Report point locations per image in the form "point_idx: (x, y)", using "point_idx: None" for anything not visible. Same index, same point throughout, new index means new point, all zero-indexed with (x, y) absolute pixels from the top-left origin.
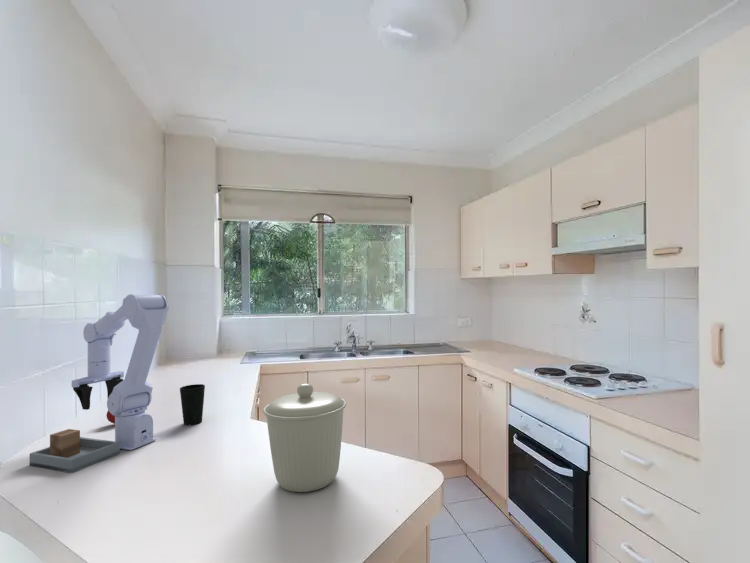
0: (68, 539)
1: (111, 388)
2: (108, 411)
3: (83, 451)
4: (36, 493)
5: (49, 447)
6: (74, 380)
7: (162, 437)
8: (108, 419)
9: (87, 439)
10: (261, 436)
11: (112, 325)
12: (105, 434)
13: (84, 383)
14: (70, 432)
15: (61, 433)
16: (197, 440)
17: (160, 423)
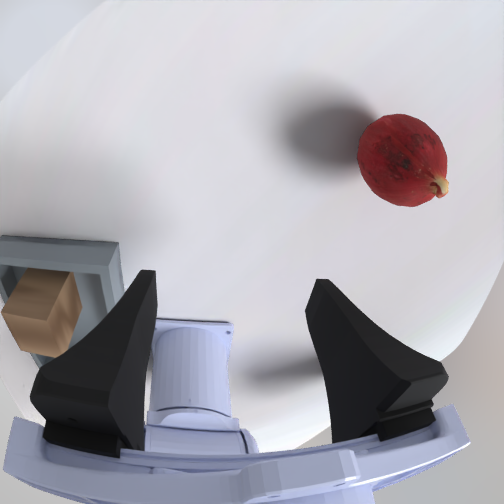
0: (26, 417)
1: (341, 376)
2: (384, 147)
3: (92, 306)
4: (5, 353)
5: (21, 263)
6: (23, 481)
7: (247, 371)
8: (359, 141)
9: (107, 309)
10: (266, 446)
11: None
12: (253, 203)
13: (106, 465)
14: (42, 349)
15: (23, 334)
16: (239, 415)
17: (366, 293)
